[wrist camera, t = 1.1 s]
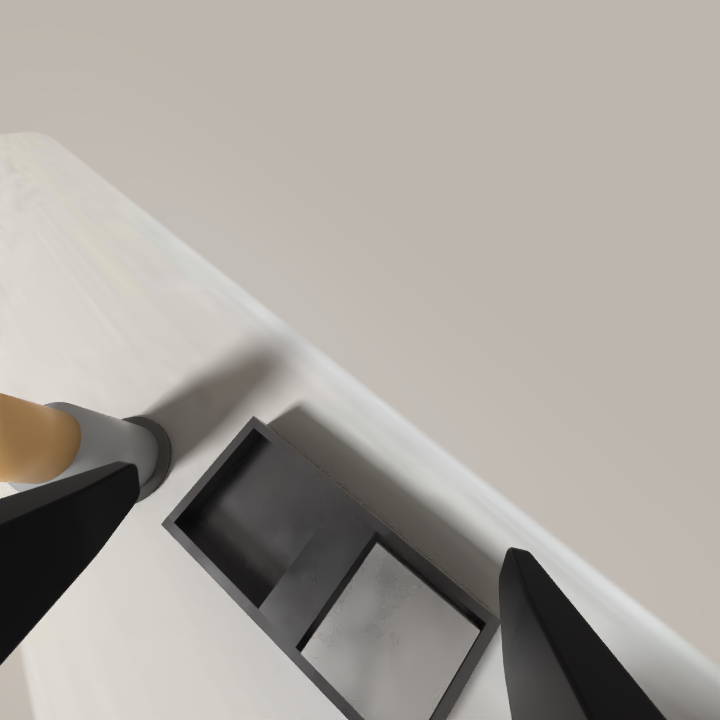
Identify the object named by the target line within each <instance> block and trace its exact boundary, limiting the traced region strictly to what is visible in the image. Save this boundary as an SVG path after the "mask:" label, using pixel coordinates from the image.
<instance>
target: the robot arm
mask: <svg viewBox="0 0 720 720" xmlns="http://www.w3.org/2000/svg"><path fill="white" fill-rule="evenodd" d="M139 495H140V482H139V473H138V467H137V466H136V464H134V463H130V462H126V461H116V462H113V463H110V464H107V465H104V466H101V467H98V468H95V469H91V470H88V471H85V472H82V473H79V474H76V475H73V476H70V477H67V478H63V479H60V480H57V481H54V482H51V483H48V484H45V485H42V486H39V487H35V488H32V489H29V490H26V491H23V492H20V493H17V494H14V495H10V496H7V497H4V498H1V499H0V665H1V664H2V663H3V662H4V661H5V660H6V658H7V657H8V656H9V655H10V654H11V653H12V652H13V650H14V649H15V648H16V647H17V646H18V645H19V644H20V643H21V641H22V640H23V639H24V638H25V637H26V636H27V635H28V633H29V632H30V631H31V630H32V629H33V628H34V627H35V625H36V624H37V623H38V622H39V621H40V620H41V619H42V617H43V616H44V615H45V614H46V613H47V612H48V611H49V609H50V608H51V607H52V606H53V605H54V604H55V603H56V601H57V600H58V599H59V598H60V597H61V596H62V595H63V593H64V592H65V591H66V590H67V589H68V588H69V587H70V585H71V584H72V583H73V582H74V581H75V580H76V579H77V577H78V576H79V575H80V574H81V573H82V572H83V571H84V570H85V568H86V567H87V566H88V565H89V564H90V563H91V561H92V560H93V559H94V558H95V557H96V555H97V554H98V553H99V551H100V550H101V549H102V548H103V546H104V545H105V544H106V542H107V541H108V539H109V538H110V537H111V535H112V534H113V533H114V531H115V530H116V529H117V527H118V526H119V525H120V523H121V522H122V521H123V519H124V518H125V516H126V515H127V514H128V512H129V511H130V510H131V508H132V507H133V506H134V504H135V503H136V501H137V500H138V498H139ZM499 600H500V617H501V634H502V651H503V664H504V672H505V679H506V686H507V692H508V698H509V704H510V710H511V716H512V720H666V718H665V717H664V716H663V715H662V713H661V712H660V711H659V710H658V709H657V707H656V706H655V705H654V704H653V702H652V701H651V700H650V699H649V698H648V696H647V695H646V694H645V693H644V691H643V690H642V689H641V688H640V686H639V685H638V684H637V683H636V682H635V680H634V679H633V678H632V677H631V675H630V674H629V673H628V672H627V671H626V669H625V668H624V667H623V666H622V664H621V663H620V662H619V661H618V660H617V658H616V657H615V656H614V655H613V653H612V652H611V651H610V650H609V648H608V647H607V646H606V645H605V644H604V642H603V641H602V640H601V639H600V637H599V636H598V635H597V634H596V633H595V631H594V630H593V629H592V628H591V626H590V625H589V624H588V623H587V622H586V620H585V619H584V618H583V617H582V615H581V614H580V613H579V612H578V610H577V609H576V608H575V607H574V606H573V604H572V603H571V602H570V601H569V599H568V598H567V597H566V596H565V595H564V593H563V592H562V591H561V590H560V588H559V587H558V586H557V585H556V583H555V582H554V581H553V580H552V579H551V577H550V576H549V575H548V574H547V572H546V571H545V570H544V569H543V568H542V566H541V565H540V564H539V563H538V561H537V560H536V559H535V558H534V557H533V555H532V554H531V553H530V552H528V551H526V550H522V549H517V548H513V547H511V548H509V549H508V550H507V552H506V555H505V559H504V562H503V566H502V569H501V572H500V576H499Z"/></svg>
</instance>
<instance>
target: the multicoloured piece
mask: <svg viewBox="0 0 720 720" xmlns="http://www.w3.org/2000/svg"><path fill="white" fill-rule="evenodd" d="M158 460H159V445H158V442H157V439H156V437H155V436H154V434H153V433H152V432H151V431H149V430H148V429H146V428H145V427H142V426H139V425H136V424H133V423H130V422H126V421H123V420H120V419H117V418H114V417H111V416H107V415H104V414H101V413H98V412H95V411H92V410H89V409H85V408H82V407H79V406H76V405H73V404H70V403H65V402H55V403H49V404H46V405H40V404H36V403H33V402H29V401H26V400H22V399H19V398H15V397H12V396H9V395H5V394H2V393H0V482H8V483H9V484H10V485H11V486H12V487H13V488H14V489H16V490H17V491H20V492H23V491H26V490H29V489H32V488H35V487H39V486H42V485H45V484H48V483H51V482H54V481H57V480H60V479H63V478H67V477H70V476H73V475H76V474H79V473H82V472H85V471H88V470H91V469H95V468H98V467H101V466H104V465H107V464H110V463H113V462H116V461H126V462H130V463H134V464H136V466H137V467H138V473H139V482H140V489H141V488H142V487H143V486H144V485H145V484H146V483H147V482H148V481H149V480H150V478H151V477H152V475H153V474H154V472H155V470H156V467H157V464H158Z"/></svg>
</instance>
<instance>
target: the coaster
mask: <svg viewBox="0 0 720 720" xmlns="http://www.w3.org/2000/svg"><path fill="white" fill-rule="evenodd" d="M121 420H123V421H126V422H130V423H133V424H136V425H139V426H142V427H145V428H146V429H148V430H149V431H151V432H152V433H153V434H154V436H155V437H156V439H157V442H158V445H159V460H158V464H157V467H156V470H155V472H154V474H153V475H152V477H151V478H150V480H149V481H148V482H147V483H146V484H145V485H144V486H143V487H142V488H141V489H140V495H139V498H138V500H137V501H136V503H137V502H139V501H141V500H143V499H145V498H146V497H148V496H149V495H150V494H151V493H152V492H153V491H154V490H155V489H156V488H157V487H158V486H159V485H160V483H161V482H162V480H163V479H164V477H165V475H166V473H167V470H168V467H169V464H170V459H171V446H170V441H169V438H168V436H167V434H166V432H165V431H164V429H163V428H162V427H161V426H160V425H158V424H157V423H155V422H154V421H151V420H148V419H146V418H141V417H129V418H124V419H121Z"/></svg>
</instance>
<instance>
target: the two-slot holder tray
mask: <svg viewBox="0 0 720 720" xmlns="http://www.w3.org/2000/svg"><path fill="white" fill-rule="evenodd" d="M161 525H162V526H163V527H164V528H165V529H166V530H167V531H168V532H169V533H170V534H171V535H172V536H173V537H174V538H175V539H176V540H177V541H178V542H179V543H180V544H181V546H182V547H183V548H184V549H185V550H186V551H187V552H188V553H189V554H190V555H191V556H192V557H193V558H194V559H195V560H196V561H197V562H198V563H199V564H200V565H201V566H202V567H203V568H204V570H205V571H206V572H207V573H208V574H209V575H210V576H211V577H212V578H213V579H214V580H215V581H216V582H217V583H218V584H219V585H220V586H221V587H222V588H223V589H224V590H225V591H226V592H227V594H228V595H229V596H230V597H231V598H232V599H233V600H234V601H235V602H236V603H237V604H238V605H239V606H240V607H241V608H242V609H243V610H244V611H245V612H246V613H247V614H248V615H249V616H250V617H251V619H252V620H253V621H254V622H255V623H256V624H257V625H258V626H259V627H260V628H261V629H262V630H263V631H264V632H265V633H266V634H267V635H268V636H269V637H270V638H271V639H272V640H273V641H274V643H275V644H276V645H277V646H278V647H279V648H280V649H281V650H282V651H283V652H284V653H285V654H286V655H287V656H288V657H289V658H290V659H291V660H292V661H293V662H294V663H295V664H296V665H297V667H298V668H299V669H300V670H301V671H302V672H303V673H304V674H305V675H306V676H307V677H308V678H309V679H310V680H311V681H312V682H313V683H314V684H315V685H316V686H317V687H318V688H319V689H320V691H321V692H322V693H323V694H324V695H325V696H326V697H327V698H328V699H329V700H330V701H331V702H332V703H333V704H334V705H335V706H336V707H337V708H338V709H339V710H340V711H341V712H342V713H343V715H344V716H345V717H346V718H347V719H348V720H446V718H447V716H448V714H449V713H450V711H451V709H452V707H453V706H454V704H455V702H456V700H457V699H458V697H459V695H460V693H461V692H462V690H463V688H464V686H465V685H466V683H467V681H468V679H469V678H470V676H471V674H472V672H473V671H474V669H475V667H476V665H477V664H478V662H479V660H480V658H481V657H482V655H483V653H484V651H485V649H486V648H487V646H488V644H489V642H490V641H491V639H492V637H493V635H494V634H495V632H496V630H497V628H498V627H499V625H500V623H501V621H500V619H499V618H498V617H497V616H496V615H495V614H494V613H493V612H492V611H491V610H490V609H489V608H488V607H487V606H486V605H485V604H483V603H482V602H481V601H480V600H479V599H477V598H476V597H475V596H474V595H472V594H471V593H470V592H469V591H468V590H466V589H465V588H464V587H463V586H462V585H460V584H459V583H458V582H457V581H456V580H454V579H453V578H452V577H451V576H449V575H448V574H447V573H446V572H445V571H443V570H442V569H441V568H440V567H439V566H437V565H436V564H435V563H434V562H433V561H431V560H430V559H429V558H428V557H426V556H425V555H424V554H423V553H422V552H420V551H419V550H418V549H417V548H416V547H414V546H413V545H412V544H411V543H410V542H408V541H407V540H406V539H405V538H403V537H402V536H401V535H400V534H399V533H397V532H396V531H395V530H394V529H393V528H391V527H390V526H389V525H388V524H387V523H385V522H384V521H383V520H382V519H380V518H379V517H378V516H377V515H376V514H374V513H373V512H372V511H371V510H370V509H368V508H367V507H366V506H365V505H364V504H362V503H361V502H360V501H359V500H357V499H356V498H355V497H354V496H353V495H351V494H350V493H349V492H348V491H347V490H345V489H344V488H343V487H342V486H341V485H339V484H338V483H337V482H336V481H335V480H333V479H332V478H331V477H330V476H328V475H327V474H326V473H325V472H324V471H322V470H321V469H320V468H319V467H318V466H316V465H315V464H314V463H313V462H312V461H310V460H309V459H308V458H307V457H305V456H304V455H303V454H302V453H301V452H299V451H298V450H297V449H296V448H295V447H293V446H292V445H291V444H290V443H289V442H287V441H286V440H285V439H284V438H282V437H281V436H280V435H279V434H278V433H276V432H275V431H274V430H273V429H272V428H270V427H269V426H268V425H267V424H265V423H264V422H262V421H260V420H259V419H257V418H256V417H254V416H253V417H252V418H251V419H250V421H249V422H248V423H247V424H246V425H245V426H244V428H243V429H242V430H241V431H240V432H239V433H238V435H237V436H236V437H235V438H234V439H233V440H232V442H231V443H230V444H229V445H228V446H227V448H226V449H225V450H224V451H223V452H222V453H221V455H220V456H219V457H218V458H217V459H216V460H215V462H214V463H213V464H212V465H211V466H210V467H209V469H208V470H207V471H206V472H205V473H204V475H203V476H202V477H201V478H200V479H199V480H198V482H197V483H196V484H195V485H194V486H193V487H192V489H191V490H190V491H189V492H188V493H187V495H186V496H185V497H184V498H183V499H182V500H181V502H180V503H179V504H178V505H177V506H176V507H175V509H174V510H173V511H172V512H171V513H170V514H169V516H168V517H167V518H166V519H165V520H164V522H163V523H162V524H161Z"/></svg>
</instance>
